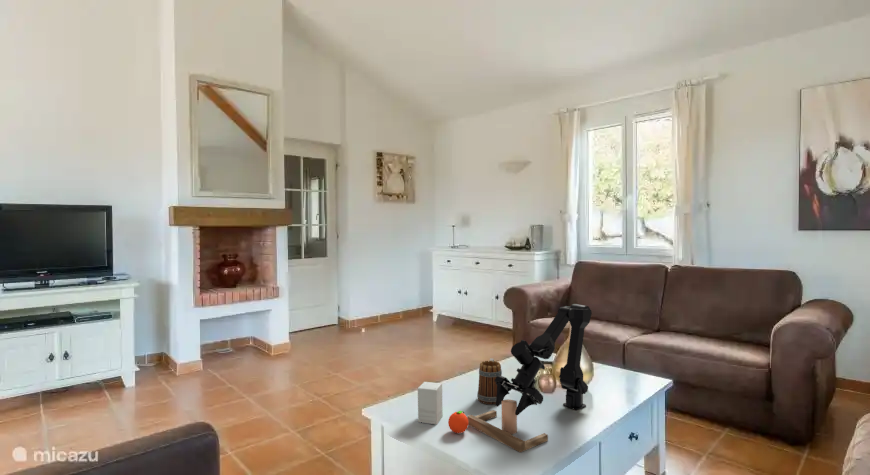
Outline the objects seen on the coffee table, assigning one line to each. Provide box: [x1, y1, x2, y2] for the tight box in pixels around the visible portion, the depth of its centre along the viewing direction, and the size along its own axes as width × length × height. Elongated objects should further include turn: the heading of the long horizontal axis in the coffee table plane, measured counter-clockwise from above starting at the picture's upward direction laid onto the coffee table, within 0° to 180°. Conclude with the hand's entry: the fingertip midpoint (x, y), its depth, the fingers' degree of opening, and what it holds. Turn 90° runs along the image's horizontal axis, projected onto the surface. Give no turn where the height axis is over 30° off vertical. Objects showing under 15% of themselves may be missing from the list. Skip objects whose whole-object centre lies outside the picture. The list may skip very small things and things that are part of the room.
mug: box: [477, 357, 504, 406], centre depth 191 cm, size 16×11×15 cm
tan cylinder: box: [501, 399, 518, 435], centre depth 161 cm, size 5×5×10 cm
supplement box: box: [417, 381, 444, 425], centre depth 170 cm, size 7×7×13 cm
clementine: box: [448, 410, 469, 434], centre depth 160 cm, size 8×7×7 cm
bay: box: [466, 409, 549, 453], centre depth 160 cm, size 13×26×3 cm, turn 36°
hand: (506, 410), depth 160 cm, fingers open, 9 cm apart
